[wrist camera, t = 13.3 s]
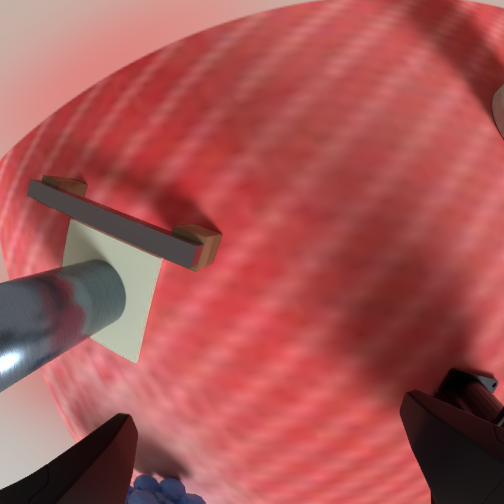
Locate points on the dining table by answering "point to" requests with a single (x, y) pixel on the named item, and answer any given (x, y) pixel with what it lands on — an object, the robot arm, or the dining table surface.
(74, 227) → the mat
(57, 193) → the bar
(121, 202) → the dining table surface
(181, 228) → the posts
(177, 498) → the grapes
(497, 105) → the coffee cup
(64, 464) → the robot arm
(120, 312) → the canister
